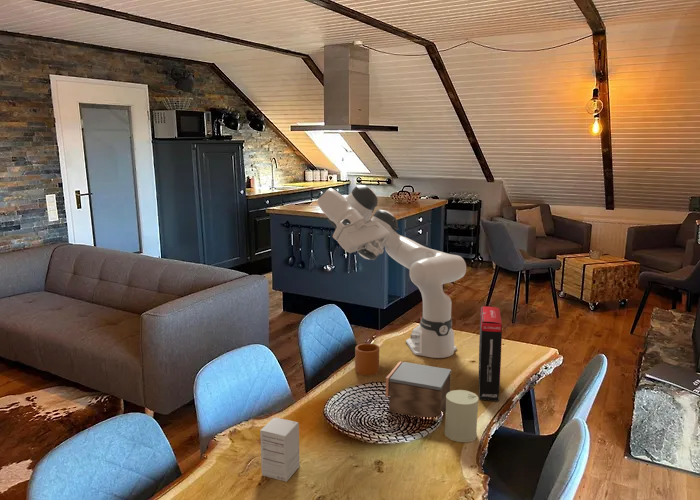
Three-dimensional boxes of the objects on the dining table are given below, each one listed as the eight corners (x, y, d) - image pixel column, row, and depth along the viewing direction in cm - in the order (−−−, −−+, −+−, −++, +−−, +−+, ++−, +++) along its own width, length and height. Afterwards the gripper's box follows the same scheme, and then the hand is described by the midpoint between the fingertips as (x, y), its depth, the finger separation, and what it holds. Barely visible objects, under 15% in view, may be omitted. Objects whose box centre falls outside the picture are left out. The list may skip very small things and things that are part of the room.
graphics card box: (499, 403, 176) (504, 322, 170) (477, 401, 177) (481, 320, 172) (496, 380, 192) (500, 306, 187) (476, 379, 193) (480, 305, 188)
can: (482, 440, 154) (484, 401, 151) (451, 444, 152) (453, 404, 149) (468, 424, 162) (470, 386, 160) (439, 427, 161) (441, 389, 158)
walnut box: (389, 412, 169) (389, 382, 167) (402, 393, 182) (403, 365, 180) (439, 422, 163) (440, 391, 161) (449, 402, 176) (451, 373, 174)
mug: (388, 366, 204) (388, 344, 202) (370, 378, 195) (371, 354, 193) (368, 360, 209) (368, 338, 207) (350, 371, 200) (350, 348, 198)
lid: (385, 396, 169) (386, 377, 168) (399, 379, 182) (399, 361, 180) (440, 407, 162) (441, 387, 161) (450, 387, 175) (451, 369, 174)
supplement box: (275, 460, 144) (274, 416, 141) (300, 466, 141) (299, 421, 139) (260, 475, 137) (259, 429, 135) (286, 482, 134) (285, 435, 132)
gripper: (369, 226, 191) (395, 252, 186) (328, 238, 177) (356, 267, 171) (376, 212, 188) (403, 239, 182) (336, 223, 173) (364, 253, 168)
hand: (380, 253), depth 177 cm, fingers closed
